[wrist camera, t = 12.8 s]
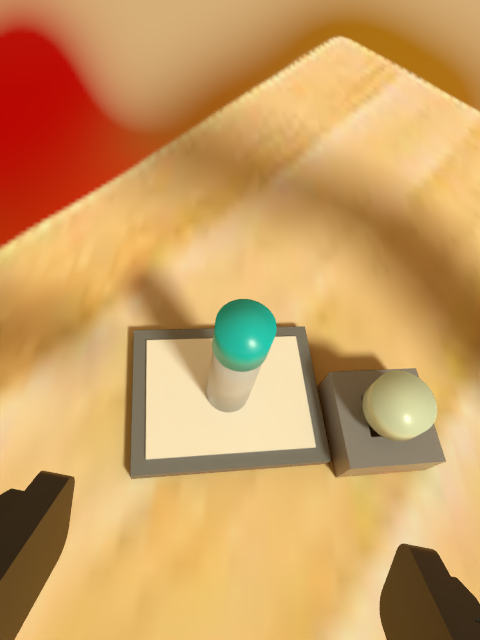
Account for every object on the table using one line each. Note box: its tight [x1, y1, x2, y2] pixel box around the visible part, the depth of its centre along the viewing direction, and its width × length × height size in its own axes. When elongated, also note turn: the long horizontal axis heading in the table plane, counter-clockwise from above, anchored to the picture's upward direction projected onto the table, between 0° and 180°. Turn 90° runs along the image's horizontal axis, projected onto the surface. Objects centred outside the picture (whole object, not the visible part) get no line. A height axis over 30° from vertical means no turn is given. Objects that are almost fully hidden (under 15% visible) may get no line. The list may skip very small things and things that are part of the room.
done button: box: [362, 370, 437, 442], centre depth 30 cm, size 4×4×3 cm
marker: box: [206, 299, 277, 412], centre depth 28 cm, size 3×3×10 cm
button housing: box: [318, 368, 446, 477], centre depth 32 cm, size 7×7×3 cm
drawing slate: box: [130, 326, 331, 479], centre depth 33 cm, size 14×11×1 cm
